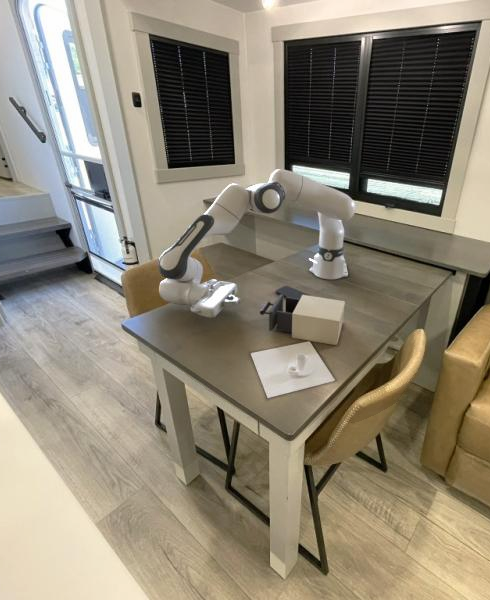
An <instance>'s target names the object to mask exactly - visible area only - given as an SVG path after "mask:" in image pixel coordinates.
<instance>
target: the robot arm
mask: <svg viewBox="0 0 490 600" xmlns="http://www.w3.org/2000/svg"><path fill="white" fill-rule="evenodd" d="M284 200H285V201H289V202H290V203H294V204H296V205H298V206H302V207H305V208H307V209H310V210H312V211H315V212H317V215H318V223H319V238H318V244H317V253H316V254H315V255H314V256H313V259H312V258H309V259H308V260H309V261H311V262H313V265H312V266H311V267H310V268H309V272H310V273H312V274H314V276H316V277H318V278H320V279H324V280H338V279H341V278H347V277H348V276H349V272H348V267H347V263H346V258H345V257H344V251H345V250H344V240H345V239H344V238H345V228H344V225H343V222H346V221H349V220H351V219H352V218H353V216H354V215H355V213H356V210H357V206H356V202H355V201H354V200H353V199H352V197H351V196H349V195H348V194H346V193H344V192H343V191H340V190H338V189H336V188H333V187H331V186H327V184H326V185H325V184H323V183H321V182H319V181H316V180H314V179H311V178H309V177H307V176H304V175H302V174H300V173H298V172H295V171H291V170H287V169H283V168H278V169H275V170H274V171H273V172H271V174H270V176H269V180H268V182H261V183H257V184H251V185H248V186H247V187H245V186H243V185H241V184H239V183H230V184H229V185H228V186H226V187H225V188H224V189H223V190H222V191H221V193H220V194H218V196H217V197H216V199H215V200H214V202H213V203H212V204H211V205H210V207H209V208H208V209H207V211H205V212H204V213H203V214H200V216H198V217H197V218H196V219H195V220H194V221H193V222H192V223H191V224H190V225H189V226H188V227H187V229H186V230H185V231H184V232H183V233H182V234H181V235H180V237H179V238H178V239H177V240H176V242H174V244H173V245H171V246H170V247H169V248H167V249H166V250H164V252H162V253H161V254H160V256H159V258H158V261H157V270H158V271H159V274H160V275H161V276H162V277H164V278H165V279H163V280H162V281H160V283H159V286H158V293H159V296H160V298H161V299H162V300H164V301H165V302H166V303H167V302H168V303H170V304H174V305H179V306H189V308H190V312H192V313H195V314H197V315H199V316H202V317H205V318H210V319H211V318H216V316H217V315H219V313H220V312H221V311H222V310H223V309H224V308H225V307H230V306H231V307H232V306H233V307H238V306H239V304H240V303H241V298H240V297H237V296H236V295H237V294H238V290H239V289H238V285H237V283H234V282H230V281H224V280H221V281H219V280H217V279H209V280H207V281H205V282H201V281H202V278H203V276H204V275H203V274H204V266H203V263H201V262H200V261H199V260H197V259H196V258H194V257H192V254H193V253H194V252H195V251H196V249H197V248H198V247H199V246H200V244H201V243H202V242H203V241H204V240H205V239H206V238H208V237H210V236H224V235H229V234H230V233H231V232H232V231H233V230H234V229H235V228H236V227H237V225H238V224H239V222H240V221H241V219H242V218H243V216H244V215H245V214H246V213H247V212H248V211H252V212H255V213H258V214H267V215H268V214H269V215H270V214H274V213H275V212H277V211H279V209H280V208H281V206H282V204H283V203H284Z"/></svg>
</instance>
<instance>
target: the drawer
mask: <svg viewBox="0 0 490 600" xmlns="http://www.w3.org/2000/svg"><path fill="white" fill-rule="evenodd" d="M299 300H300V299H298V298H291V297H285V307H284V296H283V295H281V294H278V297H277V299H276V300H274V301H275V302H273V303H271V301H268V300H267V301H266V302H265V304H264V305H263V306H262V308H261V309H260V311H259V314H260V315H261V316H264V315H268V330H269V331H271V332H273V331H274V329H275V327H276V331H281V332H287V333H288V332H289V333H292V314H293V312H294V310H295V308H296V306H297V304H298V302H299ZM270 306H271V308H270ZM284 308H285V309H284ZM268 309H269V311H268ZM284 310H285V311H284Z"/></svg>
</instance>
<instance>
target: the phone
mask: <svg viewBox="0 0 490 600" xmlns="http://www.w3.org/2000/svg"><path fill="white" fill-rule="evenodd" d="M275 294H277V295H280V294H281V295H283V298H286V297H291V298H298V299H301V297H302V295H307V296H311V295H310V294H308V293H306V292H303V291H301V290H298V289H296V288H294V287H292V286H289V285H284V286H282V287H279V288H277V289H276V290H275Z"/></svg>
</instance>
